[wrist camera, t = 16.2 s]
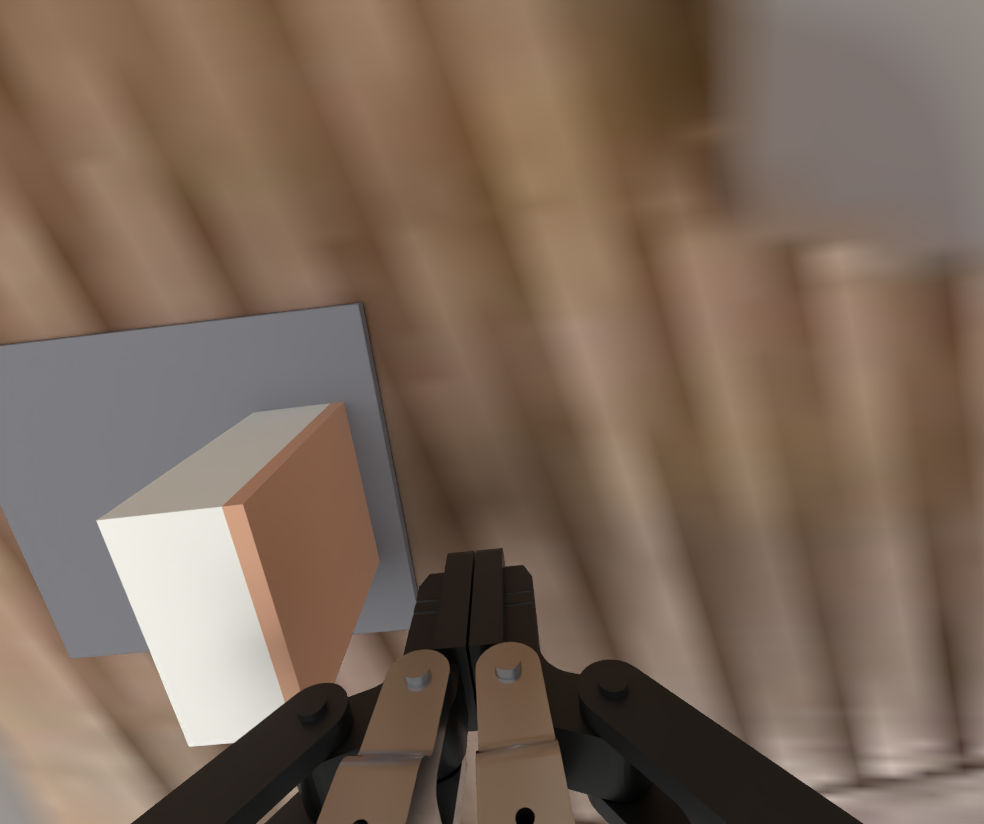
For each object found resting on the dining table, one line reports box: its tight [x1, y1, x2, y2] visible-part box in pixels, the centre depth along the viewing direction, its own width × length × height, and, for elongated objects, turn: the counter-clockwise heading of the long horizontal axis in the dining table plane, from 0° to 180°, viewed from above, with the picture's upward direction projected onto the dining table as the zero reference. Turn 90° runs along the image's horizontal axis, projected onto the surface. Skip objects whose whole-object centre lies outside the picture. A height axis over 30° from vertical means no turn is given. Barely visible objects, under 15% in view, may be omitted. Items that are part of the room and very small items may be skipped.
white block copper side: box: [96, 402, 380, 747], centre depth 17 cm, size 7×4×8 cm, turn 7°
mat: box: [0, 302, 418, 658], centre depth 21 cm, size 14×16×1 cm
